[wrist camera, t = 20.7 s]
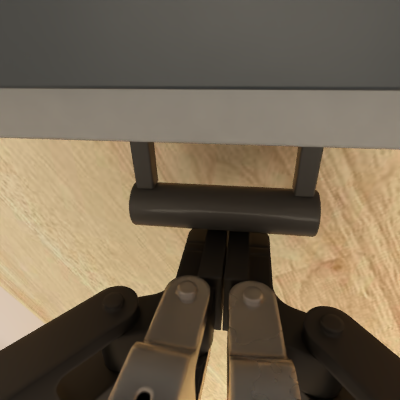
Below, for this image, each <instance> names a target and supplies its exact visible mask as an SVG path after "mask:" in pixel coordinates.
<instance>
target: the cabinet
mask: <svg viewBox="0 0 400 400" xmlns="http://www.w3.org/2000/svg"><path fill="white" fill-rule="evenodd" d="M0 89H172V90H345V91H400V0H0Z"/></svg>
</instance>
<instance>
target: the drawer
mask: <svg viewBox="0 0 400 400" xmlns="http://www.w3.org/2000/svg"><path fill="white" fill-rule="evenodd" d="M0 138H30V139H64V140H97V141H130V146H131V152H132V159H133V165H134V172H135V178H136V183H135V184H134V185H133V187H132V190H131V194H130V200H129V212H130V218H131V220H132V222H133V223H134V224H136V225H149V226H164V227H178V228H193V229H208V230H223V231H237V232H252V233H267V234H282V235H296V236H311V237H313V236H316V234H317V232H318V229H319V224H320V216H321V202H320V196H319V193H318V191H317V190H315V189H316V184H317V178H318V173H319V168H320V163H321V158H322V152H323V147H332V148H365V149H399V150H400V91H345V90H172V89H0ZM154 142H164V143H198V144H231V145H265V146H298V152H297V159H296V166H295V173H294V179H293V186H292V187H293V189H284V188H264V187H243V186H222V185H201V184H180V183H160V182H158V175H157V167H156V158H155V149H154Z"/></svg>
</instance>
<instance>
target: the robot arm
mask: <svg viewBox="0 0 400 400" xmlns="http://www.w3.org/2000/svg"><path fill="white" fill-rule="evenodd" d="M222 312H223V330H226V331H228V336H227V400H400V358H399V357H398V356H397V355H396V354H394V353H393V352H392V351H391V350H390V349H388V348H387V347H386V346H385V345H384V344H382V343H381V342H380V341H379V340H377V339H376V338H375V337H374V336H373V335H371V334H370V333H369V332H368V331H367V330H365V329H364V328H363V327H362V326H361V325H359V324H358V323H357V322H356V321H355V320H353V319H352V318H351V317H350V316H348V315H347V314H346V313H344V312H342V311H341V310H338V309H336V308H333V307H328V306H318V307H315V308H312V309H311V310H309V311H308V312H307V313H305V312H303V311H300V310H297V309H294V308H292V307H290V306H288V305H286V304H285V303H283V302H282V301H281V300H280V299H279V298H278V297H277V296H276V294H275V292H274V290H273V283H272V269H271V257H270V241H269V236H268V235H267V233H252V232H237V231H223V230H208V229H192V230H191V231H190V232H189V235H188V238H187V243H186V245H185V250H184V252H183V255H182V259H181V262H180V266H179V269H178V272H177V276H176V278H175V279H173V280H172V281H171V282H170V283H169V284H168V285H167V286H166V288H165V290H164V291H162V292H160V293H157V294H153V295H148V296H142V297H138V296H137V294H136V293H135V291H134V290H132V289H131V288H128V287H125V286H114V287H110V288H107V289H105V290H103V291H101V292H99V293H98V294H96V295H94V296H93V297H91V298H89V299H88V300H86V301H84V302H82V303H81V304H79V305H77V306H76V307H74V308H72V309H70V310H69V311H67V312H65V313H64V314H62V315H60V316H59V317H57V318H55V319H53V320H52V321H50V322H48V323H47V324H45V325H43V326H42V327H40V328H38V329H36V330H35V331H33V332H31V333H30V334H28V335H27V336H25V337H23V338H21V339H20V340H18V341H16V342H14V343H13V344H11V345H9V346H7V347H6V348H4V349H2V350H1V351H0V400H200V399H201V395H202V390H203V385H204V380H205V376H206V371H207V366H208V361H209V357H210V351H211V345H212V341H213V333H214V329H216V330H221V322H222Z"/></svg>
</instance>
